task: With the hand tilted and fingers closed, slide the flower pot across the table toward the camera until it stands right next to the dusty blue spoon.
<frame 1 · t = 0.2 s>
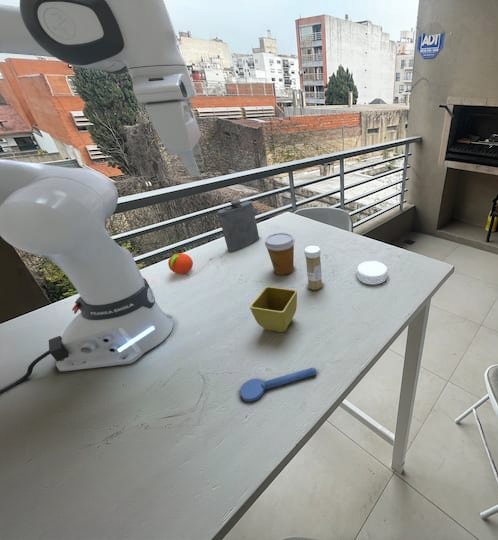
hand: (197, 169, 57), 39 cm above the table, tool pointing down, fingers open, 8 cm apart
white round disc: (372, 277, 95), on the table
clementine: (183, 273, 95), on the table
sprinkles bottle: (315, 286, 90), on the table
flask: (245, 245, 113), on the table
spoon: (275, 384, 60), on the table
flower pot: (279, 325, 75), on the table
disposable coffee cup: (284, 270, 98), on the table
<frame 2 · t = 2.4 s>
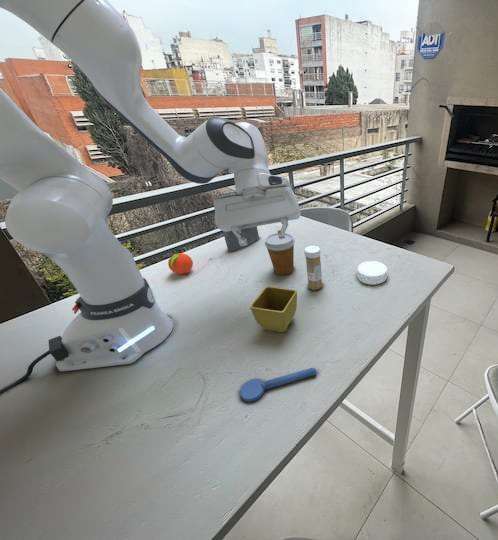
hand: (263, 241, 69), 21 cm above the table, tool tilted 40°, fingers open, 8 cm apart
nothing on the table moved.
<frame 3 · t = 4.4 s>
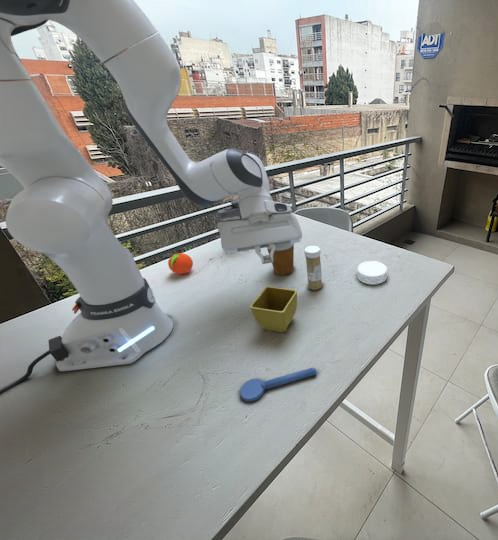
hand: (268, 262, 74), 14 cm above the table, tool tilted 45°, fingers closed
nothing on the table moved.
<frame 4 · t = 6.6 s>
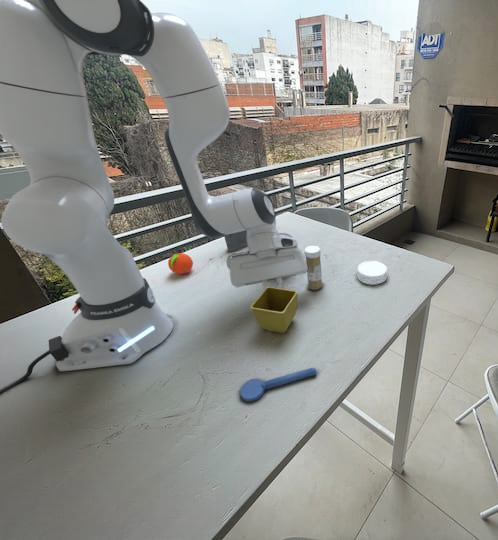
hand: (275, 296, 77), 5 cm above the table, tool tilted 45°, fingers closed
flower pot: (279, 326, 75), on the table, touching gripper
everything else where it was.
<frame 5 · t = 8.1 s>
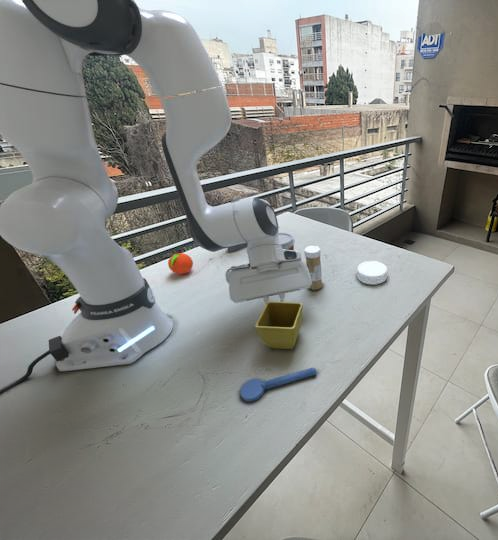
hand: (277, 312, 72), 5 cm above the table, tool tilted 45°, fingers closed
flower pot: (285, 342, 70), on the table, touching gripper
everything else where it was.
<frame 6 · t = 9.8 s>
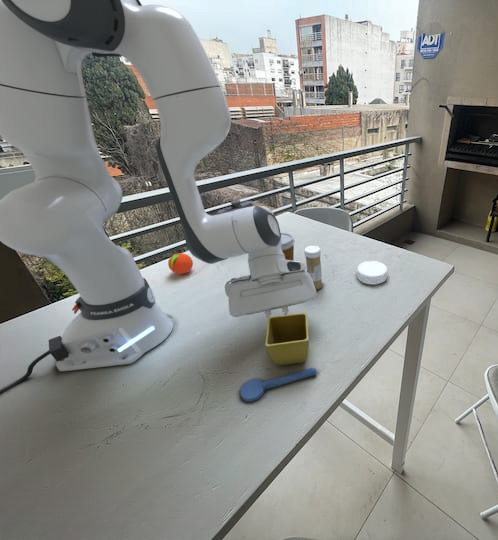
hand: (279, 327, 67), 5 cm above the table, tool tilted 45°, fingers closed
flower pot: (292, 356, 66), on the table, touching gripper
everything else where it was.
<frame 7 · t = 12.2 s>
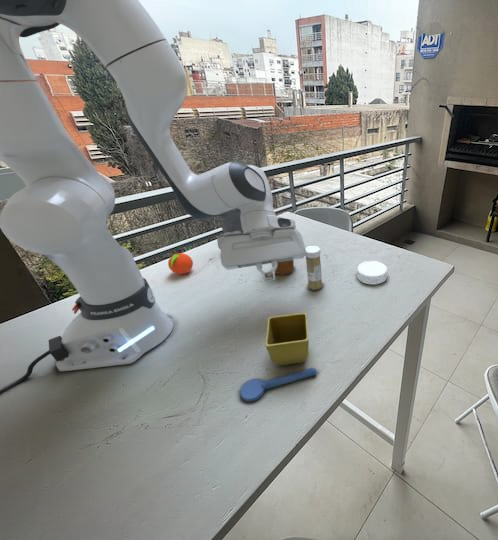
hand: (269, 280, 70), 13 cm above the table, tool tilted 45°, fingers closed
flower pot: (292, 356, 66), on the table
everything else where it was.
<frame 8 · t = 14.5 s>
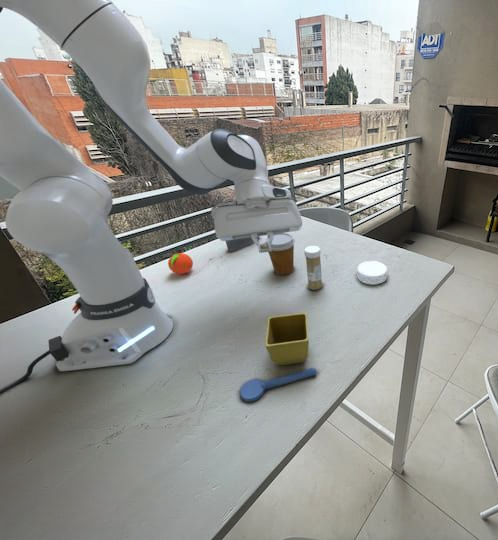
hand: (265, 251, 69), 19 cm above the table, tool tilted 45°, fingers closed
nothing on the table moved.
at the end: flower pot inside the target area (1.6 cm from its centre), on the table; flower pot tilted 0°; flower pot moved 11.6 cm from its start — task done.
